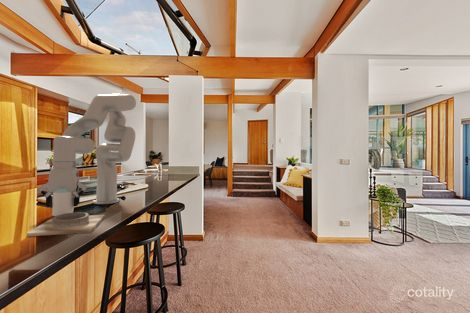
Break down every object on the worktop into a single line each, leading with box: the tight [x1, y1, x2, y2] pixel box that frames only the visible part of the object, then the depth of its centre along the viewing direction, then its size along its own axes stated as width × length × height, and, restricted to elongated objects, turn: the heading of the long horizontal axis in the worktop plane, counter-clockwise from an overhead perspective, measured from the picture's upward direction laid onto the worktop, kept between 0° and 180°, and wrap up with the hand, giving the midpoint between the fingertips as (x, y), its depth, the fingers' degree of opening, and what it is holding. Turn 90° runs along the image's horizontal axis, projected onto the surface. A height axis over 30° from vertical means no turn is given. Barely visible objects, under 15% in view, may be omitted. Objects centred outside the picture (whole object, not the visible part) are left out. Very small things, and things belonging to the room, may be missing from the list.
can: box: [51, 188, 75, 217], centre depth 94 cm, size 7×7×12 cm
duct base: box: [26, 211, 106, 237], centre depth 82 cm, size 18×18×4 cm
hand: (62, 206), depth 94 cm, fingers open, 9 cm apart
